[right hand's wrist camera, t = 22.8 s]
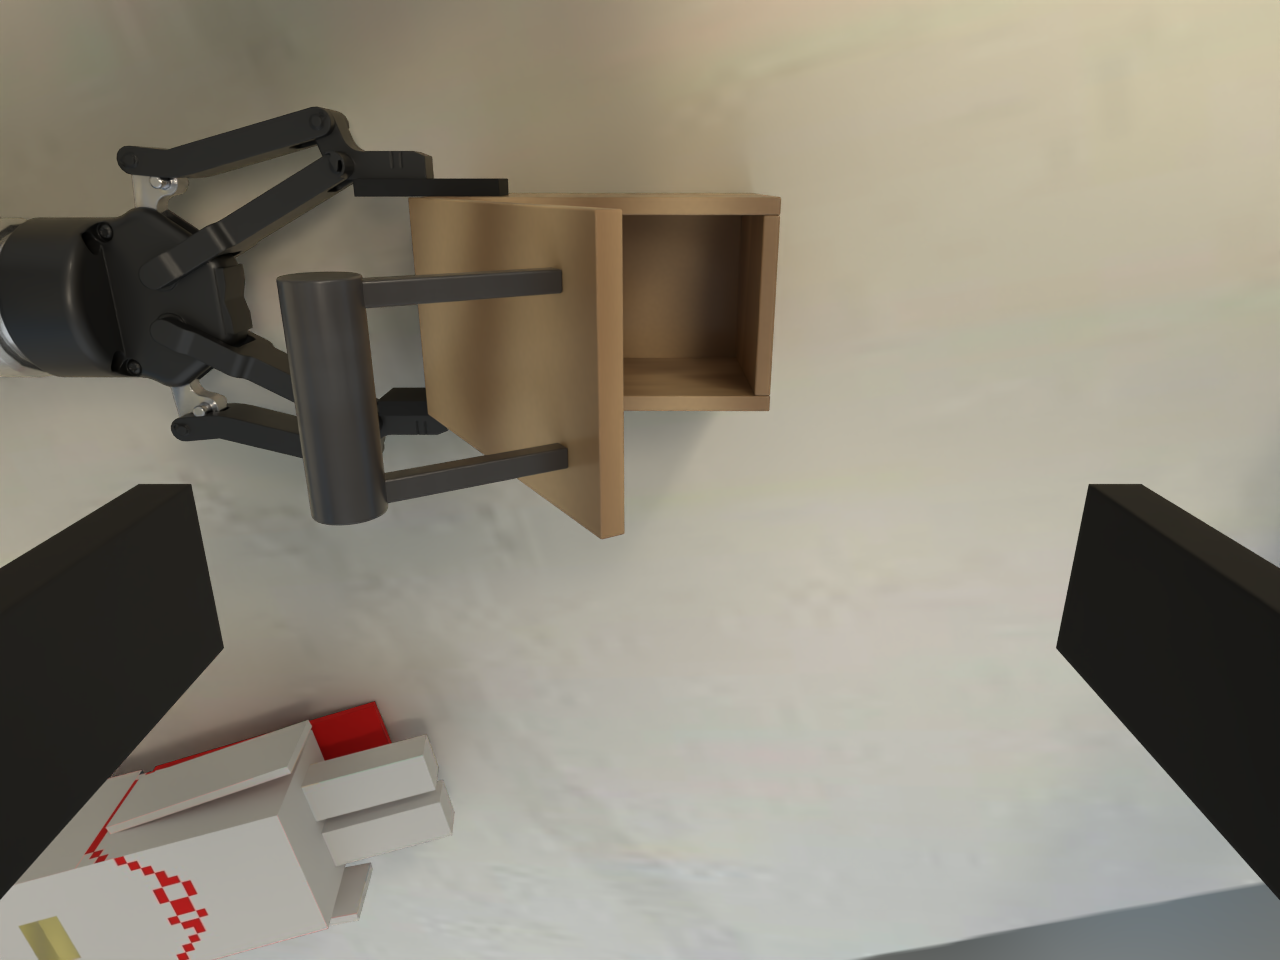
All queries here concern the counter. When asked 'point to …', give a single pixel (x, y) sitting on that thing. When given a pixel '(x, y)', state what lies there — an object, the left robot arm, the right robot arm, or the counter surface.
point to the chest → (691, 295)
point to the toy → (229, 846)
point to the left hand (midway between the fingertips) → (509, 299)
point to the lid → (474, 360)
